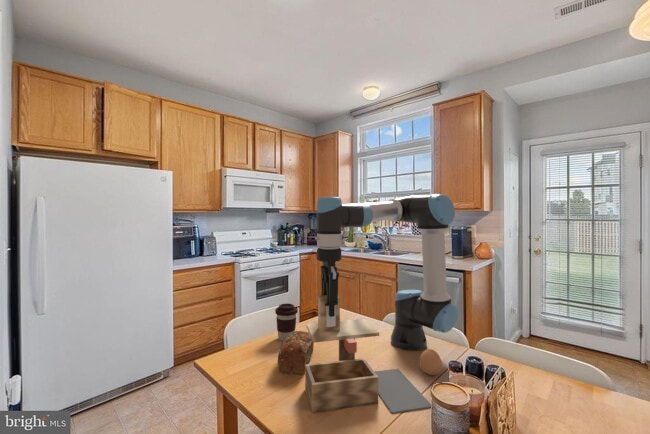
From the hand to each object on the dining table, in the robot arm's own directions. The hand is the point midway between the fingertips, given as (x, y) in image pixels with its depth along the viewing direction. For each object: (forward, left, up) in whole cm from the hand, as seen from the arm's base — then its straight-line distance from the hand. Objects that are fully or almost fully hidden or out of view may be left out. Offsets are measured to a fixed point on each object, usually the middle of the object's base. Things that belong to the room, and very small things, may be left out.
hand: (329, 323), depth 93 cm
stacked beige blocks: (-4, 0, -3) cm, 5 cm away
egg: (-39, -6, -23) cm, 45 cm away
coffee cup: (+8, -47, -23) cm, 53 cm away
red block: (-10, -16, -13) cm, 23 cm away
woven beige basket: (-4, -5, -23) cm, 24 cm away
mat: (-22, 0, -23) cm, 32 cm away
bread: (+6, -24, -23) cm, 34 cm away
